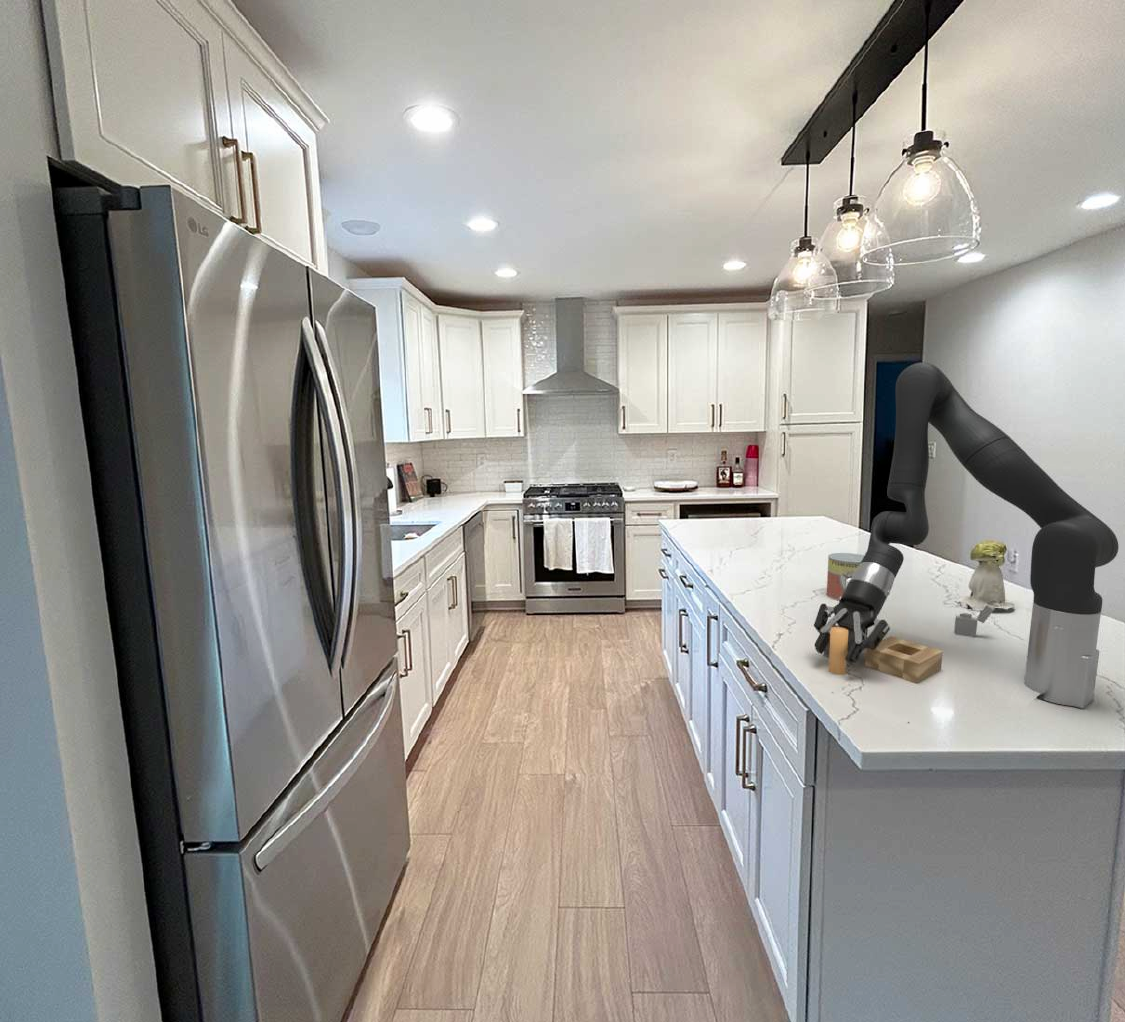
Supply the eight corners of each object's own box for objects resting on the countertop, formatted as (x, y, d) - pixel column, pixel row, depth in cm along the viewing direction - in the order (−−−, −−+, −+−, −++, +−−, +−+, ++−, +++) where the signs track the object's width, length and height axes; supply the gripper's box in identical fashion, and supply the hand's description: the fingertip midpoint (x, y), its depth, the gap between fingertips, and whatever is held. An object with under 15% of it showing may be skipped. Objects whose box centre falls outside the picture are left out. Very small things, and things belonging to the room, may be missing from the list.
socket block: (941, 669, 112) (942, 651, 111) (917, 683, 107) (918, 663, 106) (889, 653, 120) (890, 636, 120) (865, 665, 115) (866, 647, 114)
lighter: (954, 634, 133) (957, 602, 132) (954, 632, 135) (956, 600, 134) (991, 639, 130) (994, 607, 128) (990, 637, 131) (993, 604, 130)
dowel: (848, 677, 112) (851, 630, 111) (840, 681, 111) (842, 634, 109) (833, 671, 115) (836, 625, 114) (825, 675, 113) (827, 629, 112)
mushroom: (1027, 613, 146) (1034, 545, 144) (979, 614, 146) (985, 546, 143) (991, 599, 158) (997, 536, 155) (947, 600, 158) (952, 537, 155)
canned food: (830, 601, 159) (833, 561, 158) (822, 590, 170) (824, 552, 168) (874, 603, 157) (876, 562, 155) (862, 592, 168) (865, 553, 166)
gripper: (828, 571, 120) (793, 636, 115) (898, 586, 108) (862, 659, 103) (841, 590, 124) (807, 654, 119) (910, 607, 112) (875, 678, 107)
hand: (833, 656), depth 111 cm, fingers open, 5 cm apart
